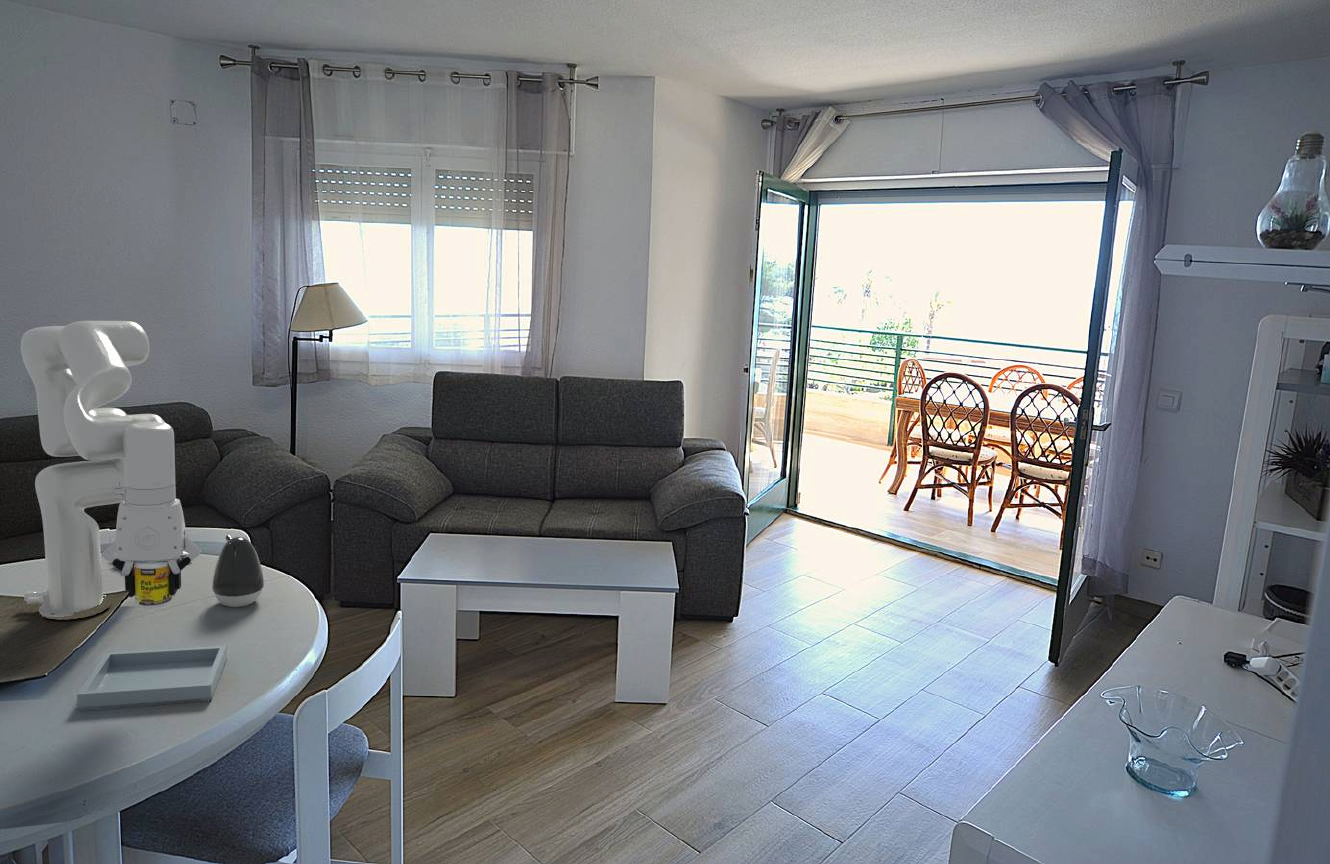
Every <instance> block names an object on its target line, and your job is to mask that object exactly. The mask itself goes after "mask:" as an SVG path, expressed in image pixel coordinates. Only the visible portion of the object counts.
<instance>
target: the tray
mask: <svg viewBox="0 0 1330 864" xmlns="http://www.w3.org/2000/svg"><path fill="white" fill-rule="evenodd" d="M227 648H228V647H227V645H215V646H213V645H212V646H195V647H177V648H162V649H144V650H143V649H141V650H125V651H124V650H123V651H109V652H108V651H107V652H105V653H104V654H103V655H102V657H101V658H100V660H99V662H98V663H97V665H96V666H95V668H94V669H93V671H92V672H91V673H90V674H89V677H87V679H86V680H85V682H84V683H83V685H82V686H81V688H80V689H79V690H78V692H77V694H76V695H77V699H76V701H77V711H78V712H83V711H84V712H85V711H96V710H111V709H112V710H113V709H125V708H137V707H148V706H149V707H151V706H161V705H163V704H164V705H165V704H166V705H172V704H171V703H179V704H182V703H181V702H192V703H197V702H196V701H206V702H209V701H208V700H213V698H214V696H213V695H215V693H214V692H216V690H215V689H217V687H218V685H217V684H219V682H220V680H221V676H222V674H223V671H224V669H225V666H226V663H227V658H228V657H227V656H228V655H227V654H228V653H227V652H228V651H227ZM218 681H219V682H218ZM212 697H213V698H212ZM164 705H163V706H164Z"/></svg>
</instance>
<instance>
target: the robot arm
mask: <svg viewBox="0 0 1330 864" xmlns="http://www.w3.org/2000/svg"><path fill="white" fill-rule="evenodd" d="M150 347H151V346H150V341H149V338H148V335H147V333H146V331H145V329H143V327H142V326H141V325H139V324H138V323H137V322H135V321H130V320H79V321H74V322H71V323H68V324H66V325H49V326H39V327H35V328H34V327H33V328H31V329H29V330H27V331H25V333H23V335H22V337H21V340H20V352H21V357H22V362H23V363H24V366H25V369H26V371H27V373H28V375H29V376H30V379H31V381H32V383H33V386H34V388H35V392H36V393H35V394H36V404H37V406H36V407H37V416H38V426H39V437H40V442H41V443H40V444H41V446H42V449H43V451H44V452H45V453H46V454H47V455H49V456H51V457H59V458H60V457H61V458H63V457H66V458H67V457H77V456H78V457H79V456H80V457H81V458H82V459H84V461H83V460H82V461H73V462H64V463H57V464H54V465H53V464H52V465H49V466H47V467H46V468H45V467H44V468H43V469H42V470H41V471H40V472H38V474H37V475H36V476H35V482H34V485H35V486H34V487H35V493H36V497H37V500H38V504H39V508H40V514H41V519H42V528H43V541H44V556H45V558H44V559H45V573H46V574H45V575H46V589H42V591H35V590H34V591H33V590H32V591H25V592H24V595H23V600H24V601H25V602H26V604H27V605H35V604H40V605H41V606H40V607H39V608H38V611H39V613H40V614H41V615H43V616H47V617H64V616H71V615H73V613H74V612H79V611H83V610H87V609H90V608H93V607H95V606H97V605H100V604H101V603H102V601H103V599H104V598H103V596H105V597H106V596H107V595H106V594H103V579H102V578H103V577H102V575H103V574H102V558H103V559H105V561H107V562H109V563H110V564H112V566H113V567H114V568H116V569H118V570H119V572H121V574H122V575H123V576H124V591H125V592H128V597H129V598H134V597H135V573H134V563H135V561H168V563H169V565H170V568H171V573H170V574H169V594H170V595H171V596H172V597H173V596H174V597H175V595H176V594H177V592H178V590H180V589H181V587H182V570H184V569H185V567H187V566H188V565H189V564H190V563H191V562H192V561H194V560H196V558H197V557H199V556H200V555H201V553H202V549H201V548H200V547H199V546H198V544H196V543H195V542H194V541H192V539H191V538H190V537H188V536H187V531H186V523H185V517H184V511H183V507H182V503H181V500H180V499H179V498H177V496H176V495H177V493H176V490H177V489H176V488H177V487H176V464H175V463H176V462H175V459H176V456H175V452H176V451H175V450H176V449H175V432H174V429H173V427H172V426H171V425H170V424H168V423H166V422H165V420H164V419H162V417H161V416H159V415H157V414H154V413H153V414H152V413H139V414H137V413H136V414H127V413H126V412H125V411H123V410H122V409H121V408H116V407H103V406H105V405H107V404H109V403H111V402H114V401H116V400H117V399H119V398H121V397H122V396H123V395H124V394H126V393H127V392H128V391H129V390H130V388H131V386H132V383H133V381H132V380H133V378H132V375H131V372H130V370H129V368H128V367H134V366H137V365H140V364H143V363H144V362H145V361H146V360H147V359H148V357H149V354H150V349H151V348H150ZM113 504H119V505H118V511H117V515H116V516H117V517H116V528H115V529H116V530H115V540H114V541H113V542H112V543H111V544H110V545H109V546H108V547H107V548H106V549H105V550H104V551H103V552H102V551H101V535H100V533H101V532H100V527H99V524H98V523H97V521H96V520H95V519H94V518H93V517H91V516H90V515H89V514H88V513H86V512H85V509H88V508H93V507H98V506H105V505H113ZM185 550H187V551H188V553H189V554H188V555H186V556H185V557H184V558H183V559H180V557H181V555H182V554H183V551H184V552H185ZM39 613H38V614H39ZM40 614H39V615H40Z"/></svg>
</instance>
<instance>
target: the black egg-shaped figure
mask: <svg viewBox="0 0 1330 864" xmlns="http://www.w3.org/2000/svg"><path fill="white" fill-rule="evenodd" d="M225 540H226V542H225V544H224V545H223V546H222V548H221V551H220V552H219V555H218V558H217V561H216V564H215V567H214V572H213V578H212V579H213V580H212V592H213V593H214V596H215V598H216V600H217V602H219V603H220V604H222V605H223V606H225V607H229V608H242V607H247V606H249V605H251V604H253V603H254V602H255V601H257V600H258V599H259V597H260V596H261V593H262V591H263V588H264V586H265V580H264V576H263V568H262V566H261V561H260V559H259V556H258V553H257V551H256V549H255V547H254V546H253V544H252V543H251V542H250V540H249V539H247V538H245V537H242V536H236V537H232V536H231V535H230V534H228V535H226V536H225Z"/></svg>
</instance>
